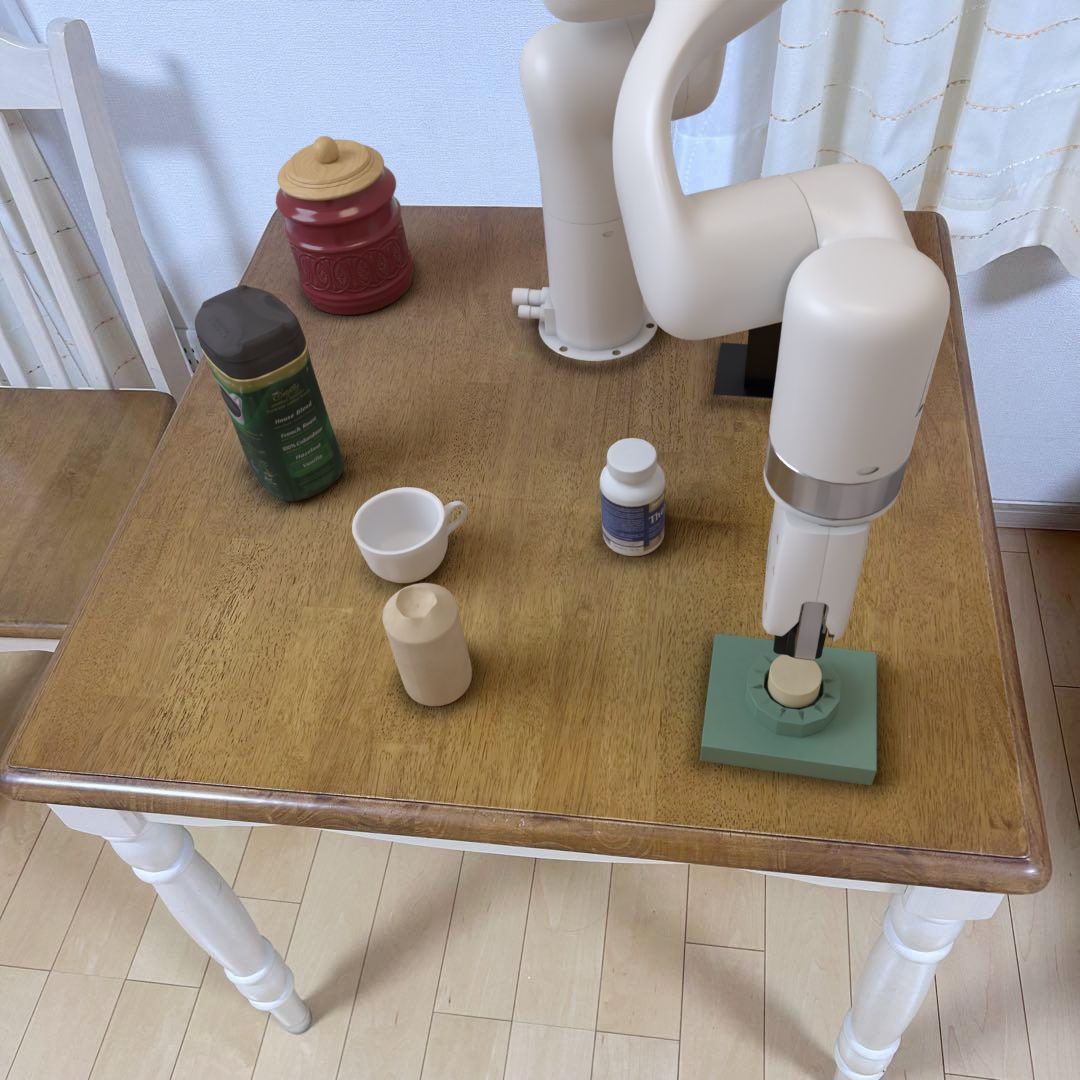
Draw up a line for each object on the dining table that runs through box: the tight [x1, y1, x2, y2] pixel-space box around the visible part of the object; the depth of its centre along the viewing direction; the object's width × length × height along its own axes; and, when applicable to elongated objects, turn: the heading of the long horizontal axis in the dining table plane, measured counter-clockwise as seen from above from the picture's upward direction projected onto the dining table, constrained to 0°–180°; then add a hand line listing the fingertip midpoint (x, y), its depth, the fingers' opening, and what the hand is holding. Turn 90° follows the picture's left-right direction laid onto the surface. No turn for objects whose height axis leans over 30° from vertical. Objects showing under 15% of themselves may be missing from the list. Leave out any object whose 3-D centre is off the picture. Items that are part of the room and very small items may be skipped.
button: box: [768, 655, 822, 708], centre depth 73 cm, size 4×4×2 cm
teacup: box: [351, 486, 469, 584], centre depth 87 cm, size 10×8×5 cm
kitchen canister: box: [275, 135, 414, 316], centre depth 111 cm, size 13×13×18 cm
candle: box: [381, 582, 473, 707], centre depth 77 cm, size 6×6×10 cm
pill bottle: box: [599, 437, 666, 557], centre depth 85 cm, size 5×5×10 cm
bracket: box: [712, 322, 782, 400], centre depth 96 cm, size 10×8×12 cm
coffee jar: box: [194, 284, 345, 502], centre depth 91 cm, size 10×8×19 cm
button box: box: [699, 632, 878, 786], centre depth 74 cm, size 12×10×4 cm
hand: (797, 646), depth 70 cm, fingers closed
